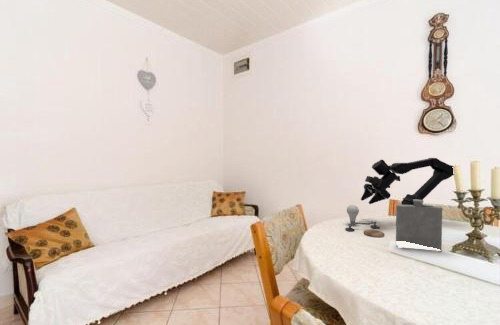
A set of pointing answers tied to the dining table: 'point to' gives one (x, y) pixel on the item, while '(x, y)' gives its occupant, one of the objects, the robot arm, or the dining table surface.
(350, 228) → the grey metal bracket
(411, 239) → the hip flask
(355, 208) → the lightbulb
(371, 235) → the walnut coaster
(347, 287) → the dining table surface
